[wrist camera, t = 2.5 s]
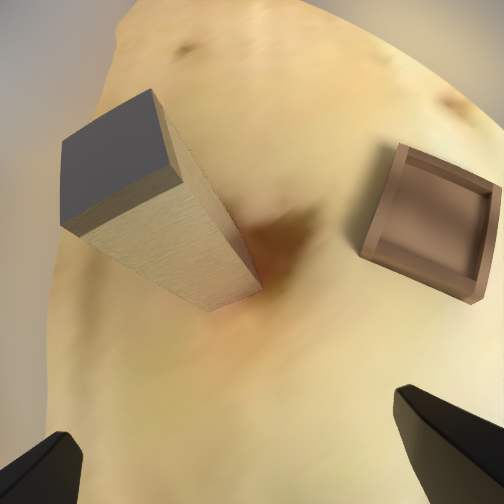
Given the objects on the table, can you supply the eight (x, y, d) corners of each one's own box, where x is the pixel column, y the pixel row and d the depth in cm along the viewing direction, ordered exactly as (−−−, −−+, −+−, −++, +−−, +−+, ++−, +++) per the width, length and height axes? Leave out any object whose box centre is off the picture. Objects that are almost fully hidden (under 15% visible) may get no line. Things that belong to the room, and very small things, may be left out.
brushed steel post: (263, 289, 21) (170, 163, 8) (208, 312, 22) (60, 225, 9) (243, 238, 23) (151, 88, 10) (192, 260, 23) (62, 141, 10)
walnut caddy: (470, 304, 18) (483, 298, 16) (359, 256, 21) (362, 245, 19) (491, 200, 20) (502, 187, 18) (395, 159, 22) (399, 143, 21)
